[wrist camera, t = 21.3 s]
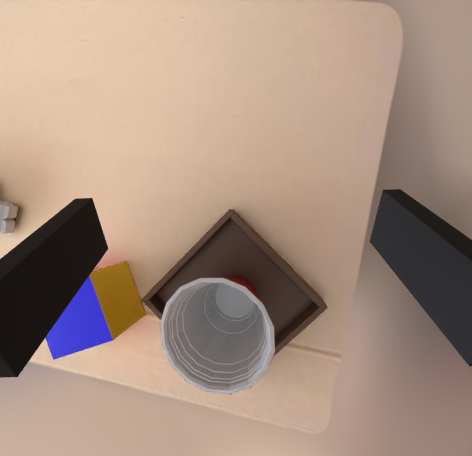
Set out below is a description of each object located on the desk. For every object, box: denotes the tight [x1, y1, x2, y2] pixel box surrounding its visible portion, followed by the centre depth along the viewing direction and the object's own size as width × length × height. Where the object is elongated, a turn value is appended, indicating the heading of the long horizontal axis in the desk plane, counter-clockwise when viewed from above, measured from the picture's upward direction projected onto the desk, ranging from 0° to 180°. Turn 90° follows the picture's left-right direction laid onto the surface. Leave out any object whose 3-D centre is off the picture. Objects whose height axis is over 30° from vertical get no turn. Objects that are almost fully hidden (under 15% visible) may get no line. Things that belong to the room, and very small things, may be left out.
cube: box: [45, 261, 146, 360], centre depth 35 cm, size 8×8×8 cm
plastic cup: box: [160, 276, 275, 394], centre depth 30 cm, size 11×11×12 cm
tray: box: [142, 209, 328, 356], centre depth 35 cm, size 16×16×3 cm
